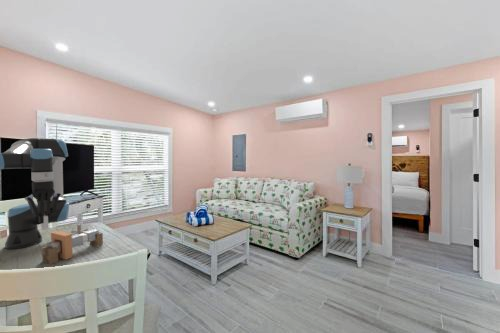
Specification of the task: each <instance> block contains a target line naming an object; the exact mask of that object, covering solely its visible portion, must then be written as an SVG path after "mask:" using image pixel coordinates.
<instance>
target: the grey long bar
mask: <svg viewBox="0 0 500 333" xmlns="http://www.w3.org/2000/svg"><path fill="white" fill-rule="evenodd" d="M99 232H100V231H99V229H95V228H92V229H88V231H85V232H83V233H82V234H75V235H72V249H73V248H75V247H79V246H81V245H84V243H86V242H87V243H90V241H93V240H96V234H99ZM46 246H47V247H49V248H56V247H57V248H58V253H59V252H61V251H62V240H55V241H48V242H46Z"/></svg>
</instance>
